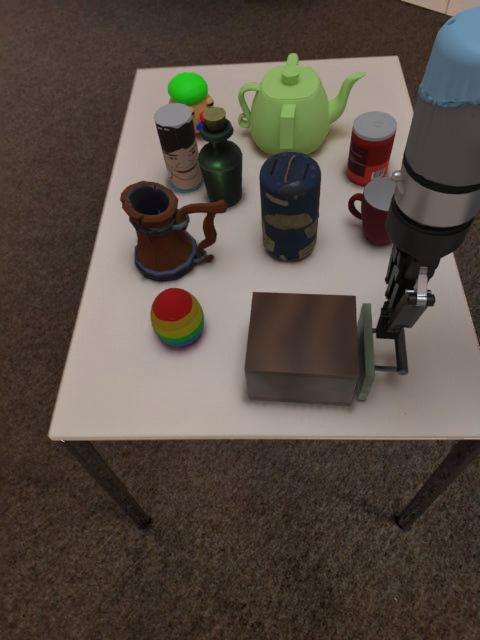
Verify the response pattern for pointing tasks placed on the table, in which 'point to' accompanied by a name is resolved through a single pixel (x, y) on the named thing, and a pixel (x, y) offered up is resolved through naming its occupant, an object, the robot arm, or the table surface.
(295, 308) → the cabinet
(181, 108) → the printed cylinder container
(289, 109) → the teapot
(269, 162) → the canister
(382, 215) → the mug
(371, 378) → the drawer
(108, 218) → the table surface
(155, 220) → the mug
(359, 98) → the table surface
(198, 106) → the figurine
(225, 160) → the potion bottle
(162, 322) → the decorative egg
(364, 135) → the canned food
